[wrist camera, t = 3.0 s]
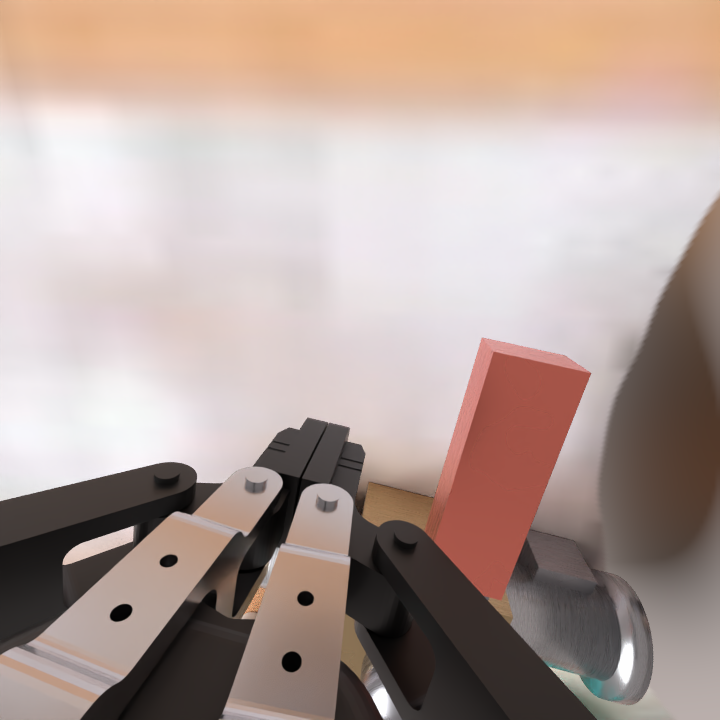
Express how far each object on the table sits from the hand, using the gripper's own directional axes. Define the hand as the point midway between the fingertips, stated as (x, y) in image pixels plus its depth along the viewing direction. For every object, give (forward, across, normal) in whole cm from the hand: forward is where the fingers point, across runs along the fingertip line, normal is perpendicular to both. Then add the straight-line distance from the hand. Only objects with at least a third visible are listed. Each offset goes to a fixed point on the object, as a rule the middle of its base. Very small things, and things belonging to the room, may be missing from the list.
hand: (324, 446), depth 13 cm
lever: (+1, -5, +4) cm, 7 cm away
